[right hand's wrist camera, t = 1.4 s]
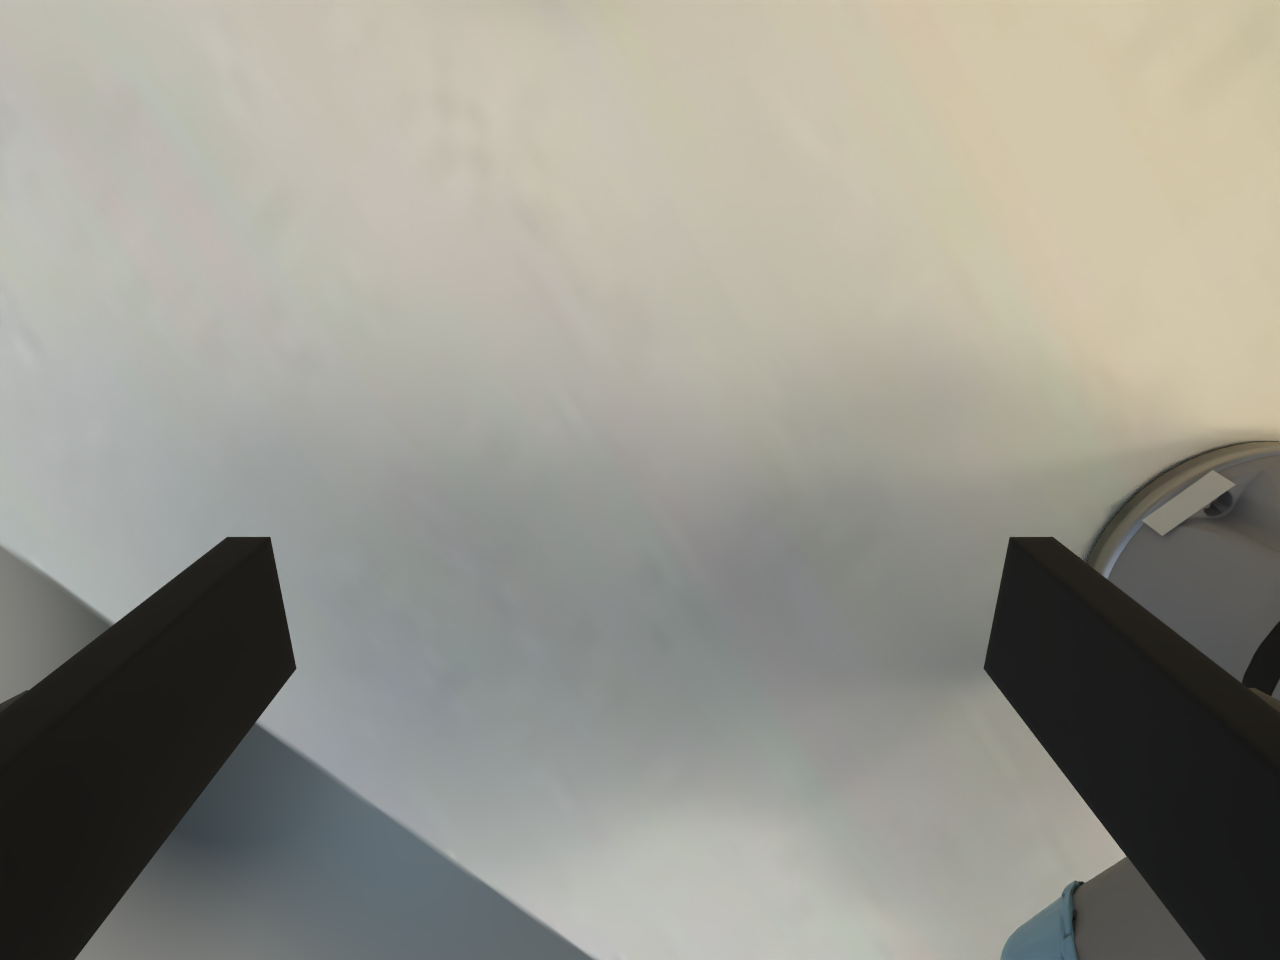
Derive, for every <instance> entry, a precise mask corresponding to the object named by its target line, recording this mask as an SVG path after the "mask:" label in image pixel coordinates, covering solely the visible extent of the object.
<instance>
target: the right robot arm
mask: <svg viewBox="0 0 1280 960" xmlns="http://www.w3.org/2000/svg"><path fill="white" fill-rule="evenodd" d="M295 670H296V665H295V660H294V655H293V650H292V644H291V639H290V634H289V629H288V624H287V619H286V614H285V609H284V604H283V599H282V594H281V589H280V584H279V579H278V574H277V569H276V564H275V559H274V553H273V548H272V543H271V538H270V537H227V538H225V539H224V540H223V541H221V542H220V543H219V544H218V545H216V546H215V547H214V548H212V549H211V550H210V551H209V552H207V553H206V554H205V555H203V556H202V557H201V558H199V559H198V560H197V561H196V562H194V563H193V564H192V565H190V566H189V567H188V568H187V569H185V570H184V571H183V572H181V573H180V574H179V575H178V576H176V577H175V578H174V579H172V580H171V581H170V582H168V583H167V584H166V585H165V586H163V587H162V588H161V589H159V590H158V591H157V592H156V593H154V594H153V595H152V596H150V597H149V598H148V599H146V600H145V601H144V602H143V603H141V604H140V605H139V606H137V607H136V608H135V609H134V610H132V611H131V612H130V613H128V614H127V615H126V616H125V617H123V618H122V619H121V620H119V621H118V622H117V623H115V624H114V625H113V626H112V627H110V628H109V629H108V630H106V631H105V632H104V633H103V634H101V635H100V636H99V637H97V638H96V639H95V640H94V641H92V642H91V643H90V644H88V645H87V646H86V647H85V648H83V649H82V650H81V651H79V652H78V653H77V654H75V655H74V656H73V657H72V658H70V659H69V660H68V661H66V662H65V663H64V664H63V665H61V666H60V667H59V668H57V669H56V670H55V671H53V672H52V673H51V674H50V675H48V676H47V677H46V678H44V679H43V680H42V681H41V682H39V683H38V684H37V685H35V686H34V687H33V688H32V689H30V690H26V691H24V692H22V693H21V694H19V695H17V696H15V697H13V698H11V699H9V700H7V701H5V702H3V703H1V704H0V960H75V958H76V957H77V956H78V954H79V953H80V952H81V950H82V949H83V948H84V946H85V945H86V944H87V942H88V941H89V940H90V939H91V937H92V936H93V935H94V933H95V932H96V931H97V929H98V928H99V927H100V925H101V924H102V923H103V921H104V920H105V919H106V918H107V916H108V915H109V914H110V912H111V911H112V910H113V908H114V907H115V906H116V904H117V903H118V902H119V900H120V899H121V898H122V897H123V895H124V894H125V893H126V891H127V890H128V889H129V887H130V886H131V885H132V883H133V882H134V881H135V880H136V878H137V877H138V876H139V874H140V873H141V872H142V870H143V869H144V868H145V866H146V865H147V864H148V862H149V861H150V860H151V859H152V857H153V856H154V855H155V853H156V852H157V851H158V849H159V848H160V847H161V845H162V844H163V843H164V841H165V840H166V839H167V838H168V836H169V835H170V834H171V832H172V831H173V830H174V828H175V827H176V826H177V824H178V823H179V822H180V820H181V819H182V818H183V817H184V815H185V814H186V813H187V811H188V810H189V809H190V807H191V806H192V805H193V803H194V802H195V801H196V799H197V798H198V797H199V796H200V794H201V793H202V792H203V790H204V789H205V788H206V786H207V785H208V784H209V782H210V781H211V780H212V778H213V777H214V776H215V775H216V773H217V772H218V771H219V769H220V768H221V767H222V765H223V764H224V763H225V761H226V760H227V759H228V757H229V756H230V755H231V753H232V752H233V751H234V750H235V748H236V747H237V746H238V744H239V743H240V742H241V740H242V739H243V738H244V736H245V735H246V734H247V733H248V731H249V730H250V729H251V727H252V726H253V725H254V723H255V722H256V721H257V719H258V718H259V717H260V716H261V714H262V713H263V712H264V710H265V709H266V708H267V706H268V705H269V704H270V702H271V701H272V700H273V698H274V697H275V696H276V695H277V693H278V692H279V691H280V689H281V688H282V687H283V685H284V684H285V683H286V681H287V680H288V679H289V677H290V676H291V675H292V674H293V672H294V671H295ZM984 670H985V671H986V672H987V674H988V675H989V676H990V677H991V679H992V680H993V681H994V683H995V684H996V685H997V687H998V688H999V689H1000V691H1001V692H1002V693H1003V695H1004V696H1005V697H1006V698H1007V700H1008V701H1009V702H1010V704H1011V705H1012V706H1013V708H1014V709H1015V710H1016V712H1017V713H1018V714H1019V716H1020V717H1021V718H1022V719H1023V721H1024V722H1025V723H1026V725H1027V726H1028V727H1029V729H1030V730H1031V731H1032V733H1033V734H1034V735H1035V736H1036V738H1037V739H1038V740H1039V742H1040V743H1041V744H1042V746H1043V747H1044V748H1045V750H1046V751H1047V752H1048V754H1049V755H1050V756H1051V757H1052V759H1053V760H1054V761H1055V763H1056V764H1057V765H1058V767H1059V768H1060V769H1061V771H1062V772H1063V773H1064V775H1065V776H1066V777H1067V778H1068V780H1069V781H1070V782H1071V784H1072V785H1073V786H1074V788H1075V789H1076V790H1077V792H1078V793H1079V794H1080V796H1081V797H1082V798H1083V799H1084V801H1085V802H1086V803H1087V805H1088V806H1089V807H1090V809H1091V810H1092V811H1093V813H1094V814H1095V815H1096V817H1097V818H1098V819H1099V820H1100V822H1101V823H1102V824H1103V826H1104V827H1105V828H1106V830H1107V831H1108V832H1109V834H1110V835H1111V836H1112V838H1113V839H1114V840H1115V841H1116V843H1117V844H1118V845H1119V847H1120V848H1121V849H1122V851H1123V852H1124V853H1125V855H1126V856H1127V857H1125V858H1124V859H1122V860H1121V861H1119V862H1118V863H1116V864H1115V865H1113V866H1111V867H1110V868H1108V869H1107V870H1105V871H1104V872H1102V873H1100V874H1099V875H1097V876H1096V877H1094V878H1093V879H1091V880H1089V881H1088V882H1086V883H1084V882H1078V881H1074V882H1072V883H1071V884H1069V885H1068V886H1067V887H1066V888H1065V889H1064V891H1063V893H1062V897H1060V898H1059V899H1058V900H1056V901H1055V902H1054V903H1052V904H1051V905H1049V906H1048V907H1047V908H1045V909H1044V910H1043V911H1041V912H1040V913H1038V914H1037V915H1036V916H1034V917H1033V918H1032V919H1030V920H1029V921H1027V922H1026V923H1025V924H1023V925H1022V926H1021V927H1019V928H1018V929H1017V930H1016V931H1015V932H1014V933H1013V934H1012V935H1011V936H1010V937H1009V939H1008V940H1007V942H1006V944H1005V946H1004V948H1003V951H1002V955H1001V960H1280V442H1254V443H1245V444H1239V445H1233V446H1229V447H1225V448H1221V449H1218V450H1215V451H1212V452H1209V453H1206V454H1203V455H1200V456H1198V457H1196V458H1193V459H1191V460H1189V461H1187V462H1185V463H1183V464H1181V465H1179V466H1177V467H1175V468H1173V469H1171V470H1170V471H1168V472H1167V473H1165V474H1163V475H1162V476H1160V477H1158V478H1157V479H1156V480H1154V481H1153V482H1152V483H1150V484H1149V485H1147V486H1146V487H1145V488H1144V489H1142V490H1141V491H1140V492H1139V493H1138V494H1136V495H1135V496H1134V497H1133V498H1132V499H1131V500H1130V501H1129V502H1128V503H1127V504H1126V505H1125V506H1124V507H1123V508H1122V509H1121V510H1120V511H1119V512H1118V513H1117V515H1116V516H1115V517H1114V518H1113V519H1112V520H1111V522H1110V523H1109V524H1108V526H1107V527H1106V529H1105V530H1104V531H1103V533H1102V534H1101V536H1100V538H1099V539H1098V541H1097V543H1096V544H1095V546H1094V548H1093V550H1092V552H1091V554H1090V556H1089V558H1088V561H1087V563H1086V562H1084V561H1083V560H1082V559H1081V558H1079V557H1078V556H1077V555H1075V554H1074V553H1073V552H1071V551H1070V550H1069V549H1068V548H1066V547H1065V546H1064V545H1062V544H1061V543H1060V542H1059V541H1057V540H1056V539H1055V538H1053V537H1010V538H1009V543H1008V548H1007V553H1006V559H1005V564H1004V569H1003V574H1002V579H1001V584H1000V589H999V594H998V599H997V604H996V609H995V614H994V619H993V624H992V629H991V634H990V639H989V644H988V650H987V655H986V660H985V665H984Z"/></svg>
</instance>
